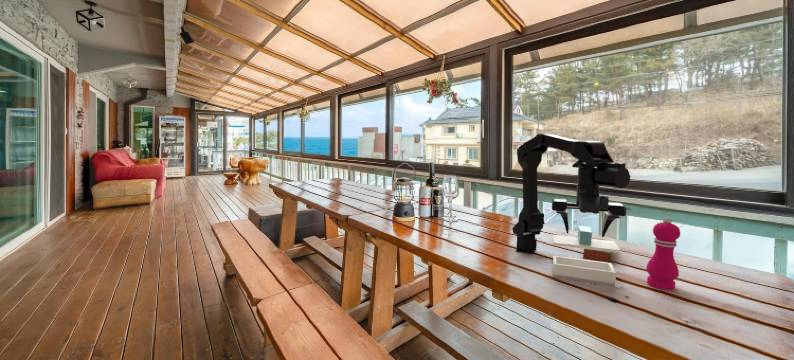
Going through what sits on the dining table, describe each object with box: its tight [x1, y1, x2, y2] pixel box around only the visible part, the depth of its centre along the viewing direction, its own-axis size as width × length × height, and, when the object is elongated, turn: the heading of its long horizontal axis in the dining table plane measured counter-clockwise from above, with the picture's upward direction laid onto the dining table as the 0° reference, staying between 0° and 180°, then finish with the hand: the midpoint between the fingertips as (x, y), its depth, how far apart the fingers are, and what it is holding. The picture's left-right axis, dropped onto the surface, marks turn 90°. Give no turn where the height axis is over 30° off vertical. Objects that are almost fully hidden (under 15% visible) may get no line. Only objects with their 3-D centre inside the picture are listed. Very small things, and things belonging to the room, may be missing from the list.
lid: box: [552, 225, 621, 254], centre depth 98 cm, size 17×9×5 cm, turn 66°
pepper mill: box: [645, 216, 681, 291], centre depth 92 cm, size 7×7×20 cm
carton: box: [582, 237, 614, 264], centre depth 118 cm, size 8×16×4 cm, turn 143°
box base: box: [552, 255, 617, 287], centre depth 100 cm, size 16×8×4 cm, turn 66°
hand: (584, 235), depth 98 cm, fingers open, 9 cm apart
